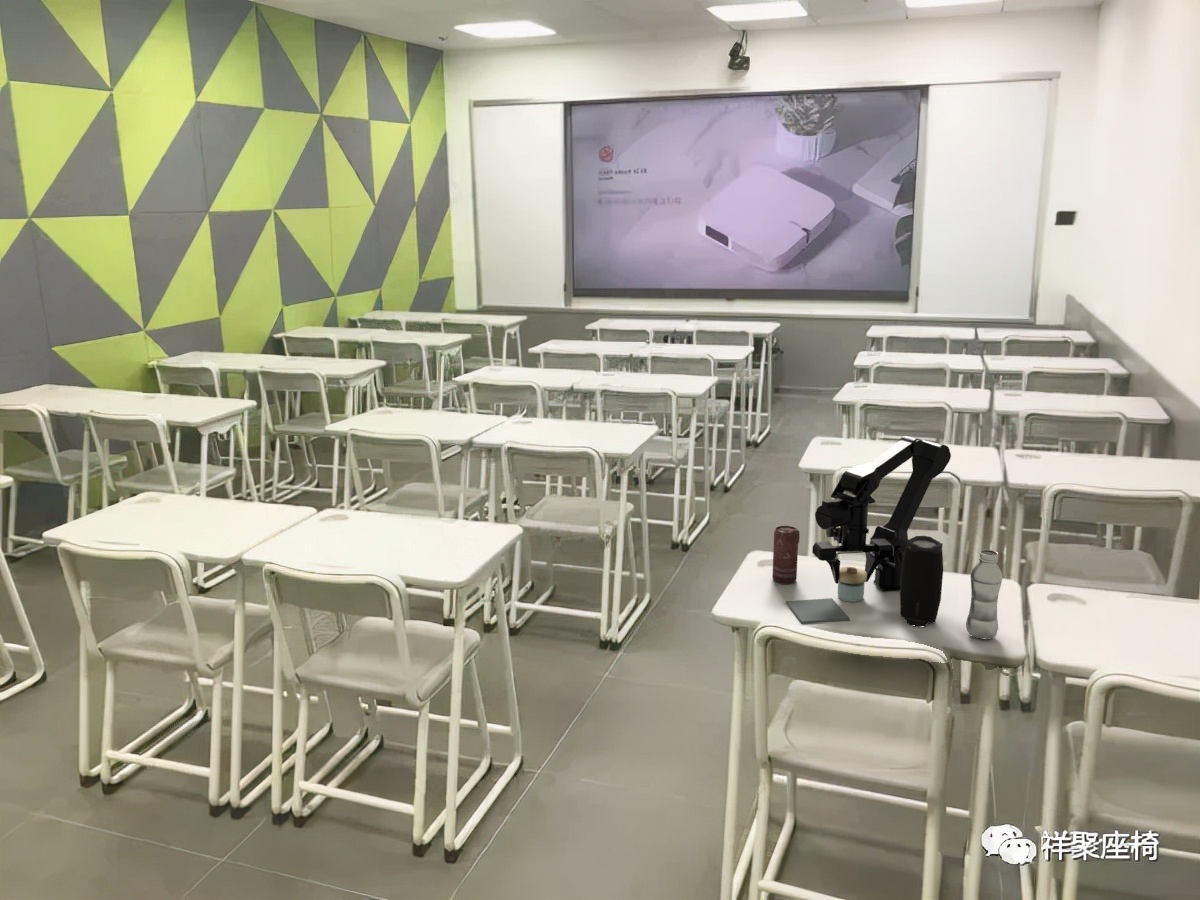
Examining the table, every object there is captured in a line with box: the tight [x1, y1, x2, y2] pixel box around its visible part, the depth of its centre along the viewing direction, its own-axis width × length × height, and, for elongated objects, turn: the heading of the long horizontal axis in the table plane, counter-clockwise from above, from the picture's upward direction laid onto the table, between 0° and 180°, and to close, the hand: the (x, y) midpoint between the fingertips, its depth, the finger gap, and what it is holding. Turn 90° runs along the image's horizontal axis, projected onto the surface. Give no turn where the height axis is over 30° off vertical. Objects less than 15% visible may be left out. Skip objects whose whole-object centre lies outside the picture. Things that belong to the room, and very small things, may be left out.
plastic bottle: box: [965, 549, 1004, 640], centre depth 209 cm, size 6×7×20 cm
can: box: [771, 525, 801, 585], centre depth 242 cm, size 6×6×14 cm
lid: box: [839, 566, 867, 584], centre depth 231 cm, size 7×7×2 cm
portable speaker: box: [899, 535, 944, 627], centre depth 217 cm, size 9×9×20 cm
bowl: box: [837, 581, 866, 603], centre depth 232 cm, size 6×6×4 cm
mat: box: [785, 597, 851, 625], centre depth 225 cm, size 12×12×1 cm
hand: (851, 582), depth 232 cm, fingers closed on lid, 7 cm apart
